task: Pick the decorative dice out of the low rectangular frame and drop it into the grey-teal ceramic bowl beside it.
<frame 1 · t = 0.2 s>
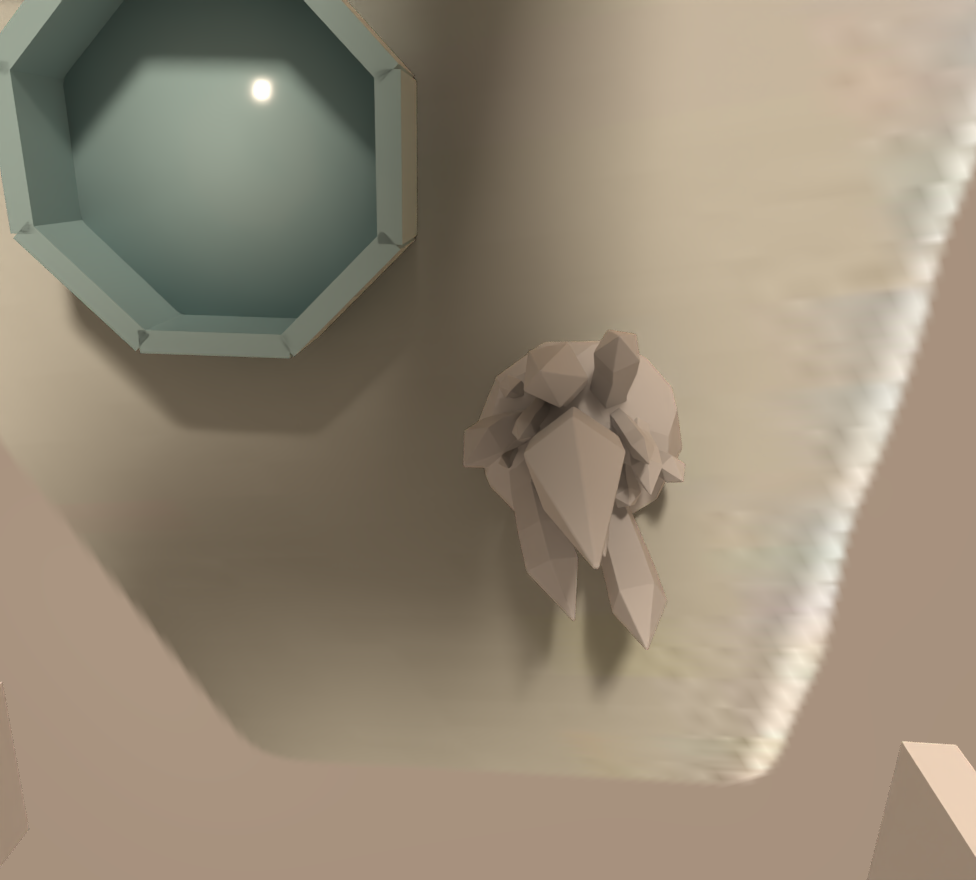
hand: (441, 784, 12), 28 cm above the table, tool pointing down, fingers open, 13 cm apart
bowl: (236, 155, 36), on the table
crystal: (581, 445, 40), on the table
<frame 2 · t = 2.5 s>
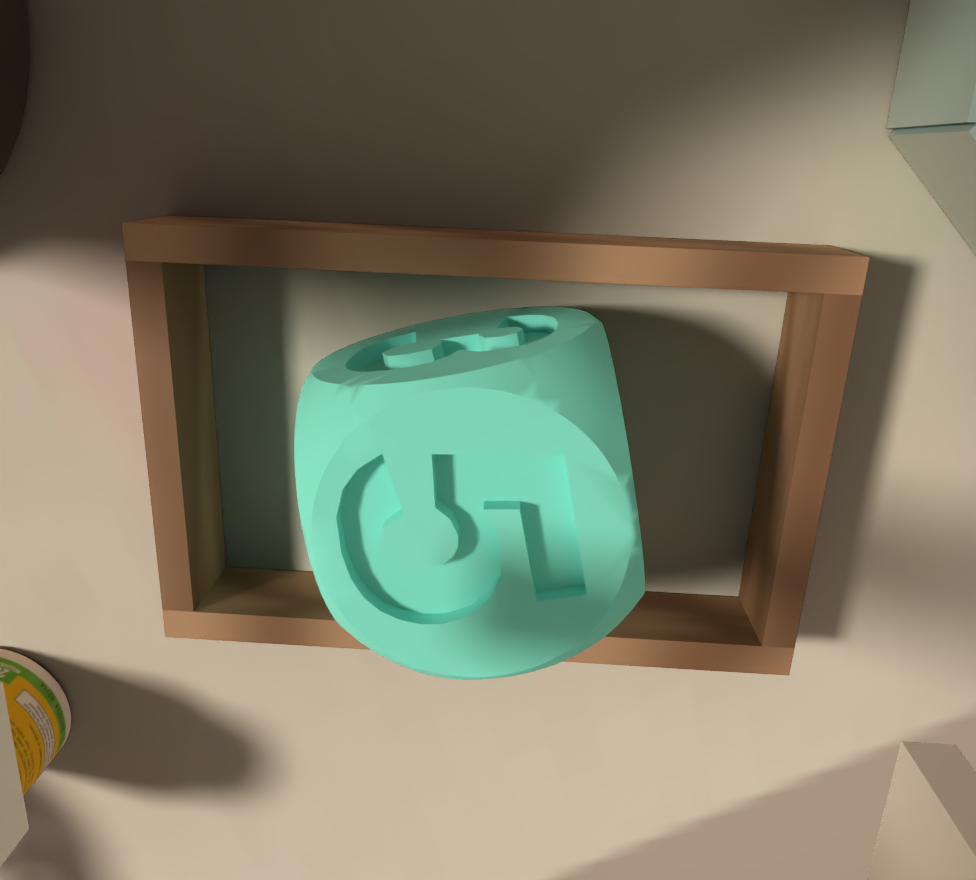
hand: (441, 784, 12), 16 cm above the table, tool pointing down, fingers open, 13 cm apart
decorative dice: (486, 431, 27), resting in rectangular frame
rectangular frame: (486, 433, 27), on the table
supplement bottle: (9, 700, 31), on the table
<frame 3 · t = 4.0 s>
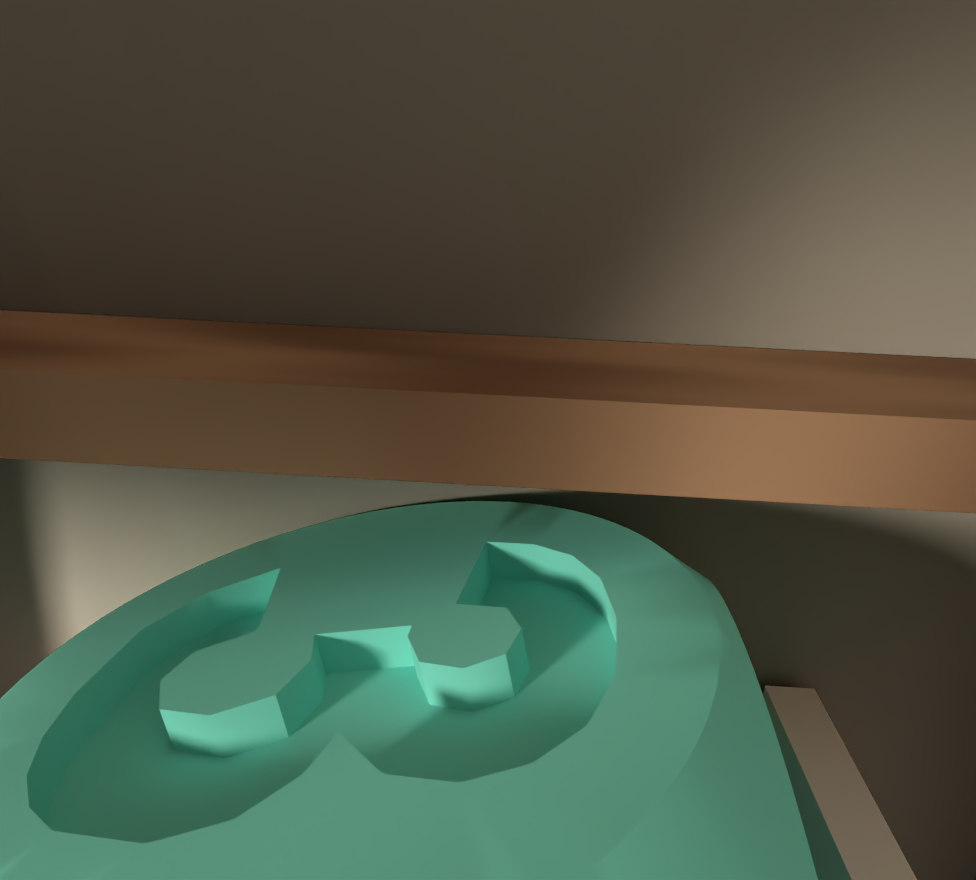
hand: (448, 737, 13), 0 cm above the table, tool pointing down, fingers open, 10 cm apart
decorative dice: (450, 715, 14), resting in rectangular frame
rectangular frame: (449, 726, 13), on the table
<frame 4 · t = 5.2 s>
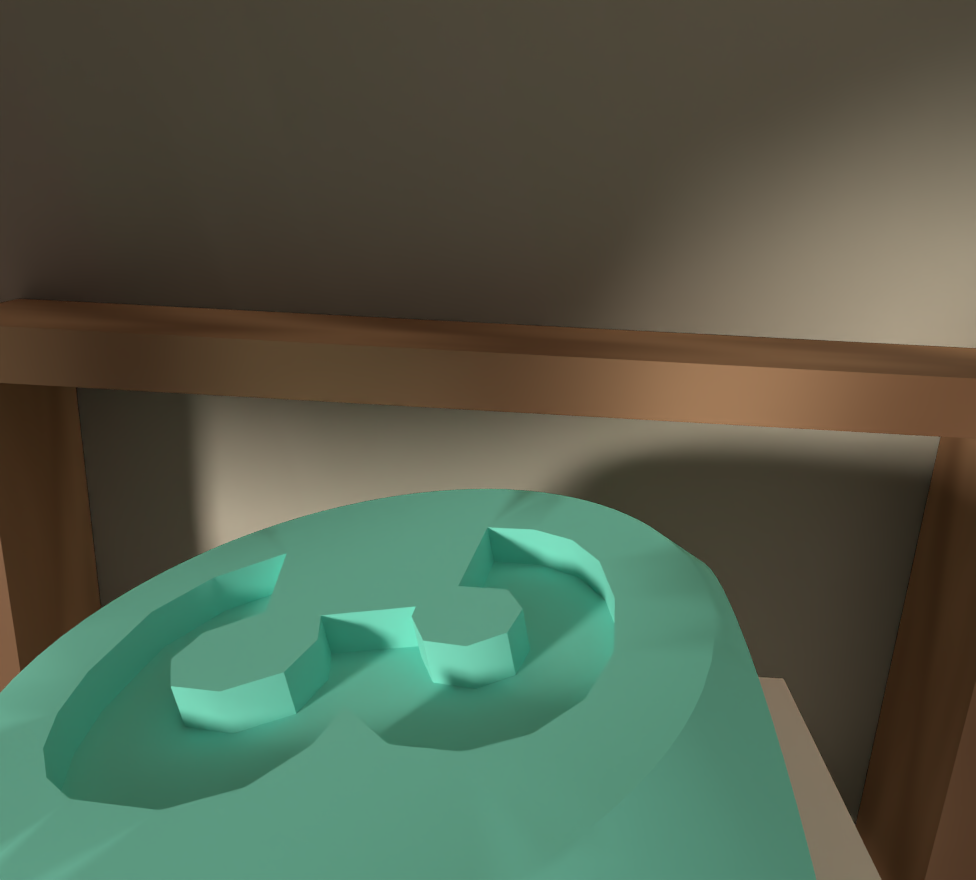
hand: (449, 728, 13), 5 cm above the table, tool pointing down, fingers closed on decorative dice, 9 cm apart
decorative dice: (452, 700, 14), point 4 cm above the table, touching gripper
rectangular frame: (488, 611, 18), on the table
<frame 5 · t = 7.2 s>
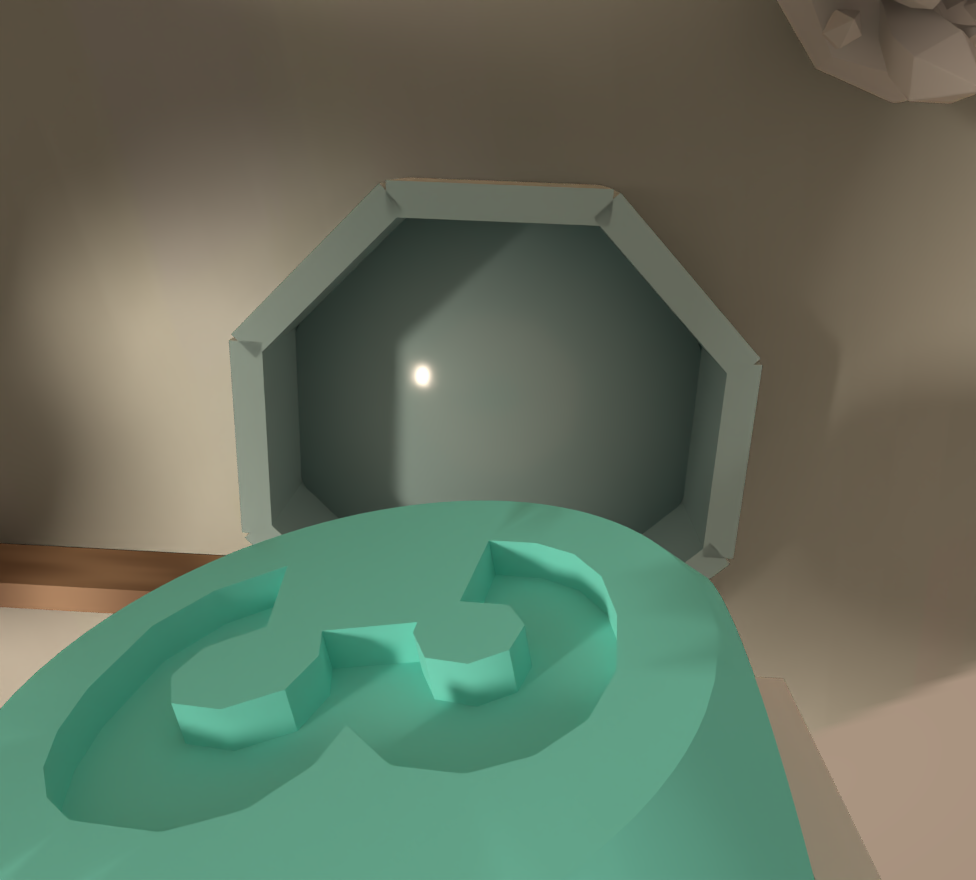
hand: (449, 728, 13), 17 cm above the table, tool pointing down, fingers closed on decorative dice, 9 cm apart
bowl: (494, 411, 30), on the table
decorative dice: (453, 711, 14), point 17 cm above the table, touching gripper
rectangular frame: (35, 682, 34), on the table
when the fingers open (5 cm above the table, at t = 9.4 s): decorative dice drops 4 cm, point 1 cm above the table.
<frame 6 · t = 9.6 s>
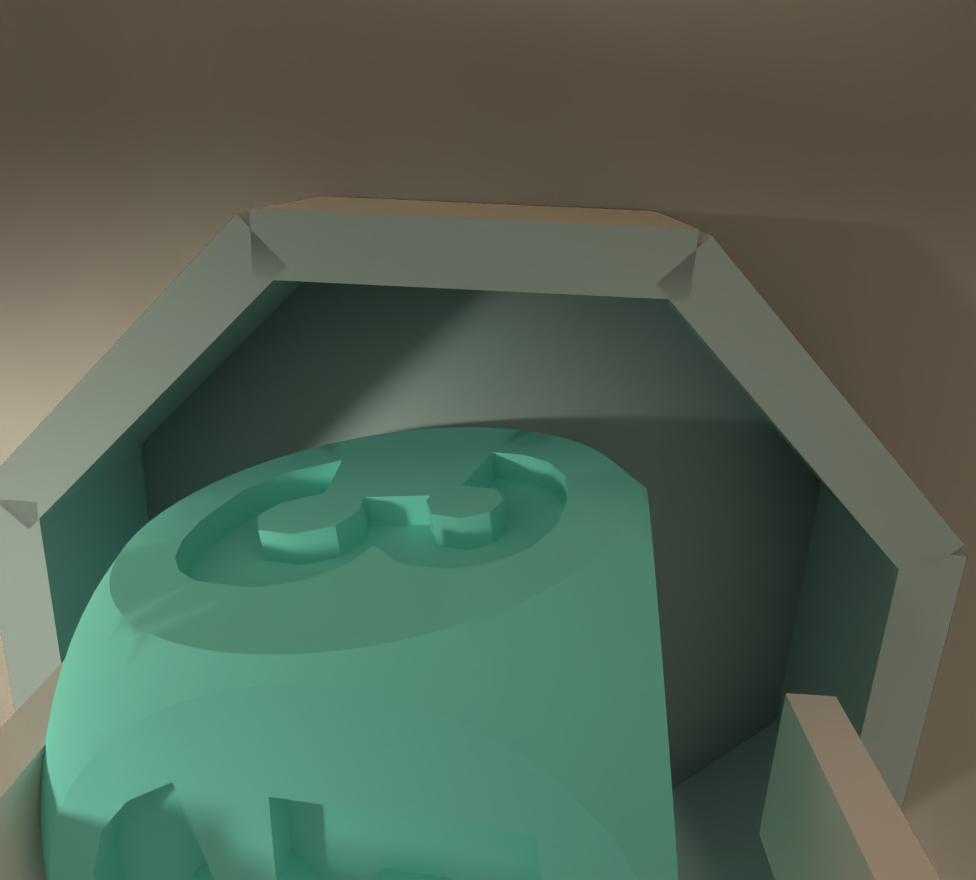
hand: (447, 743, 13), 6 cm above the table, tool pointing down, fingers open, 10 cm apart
bowl: (473, 571, 18), on the table
decorative dice: (460, 598, 17), point 1 cm above the table, touching gripper
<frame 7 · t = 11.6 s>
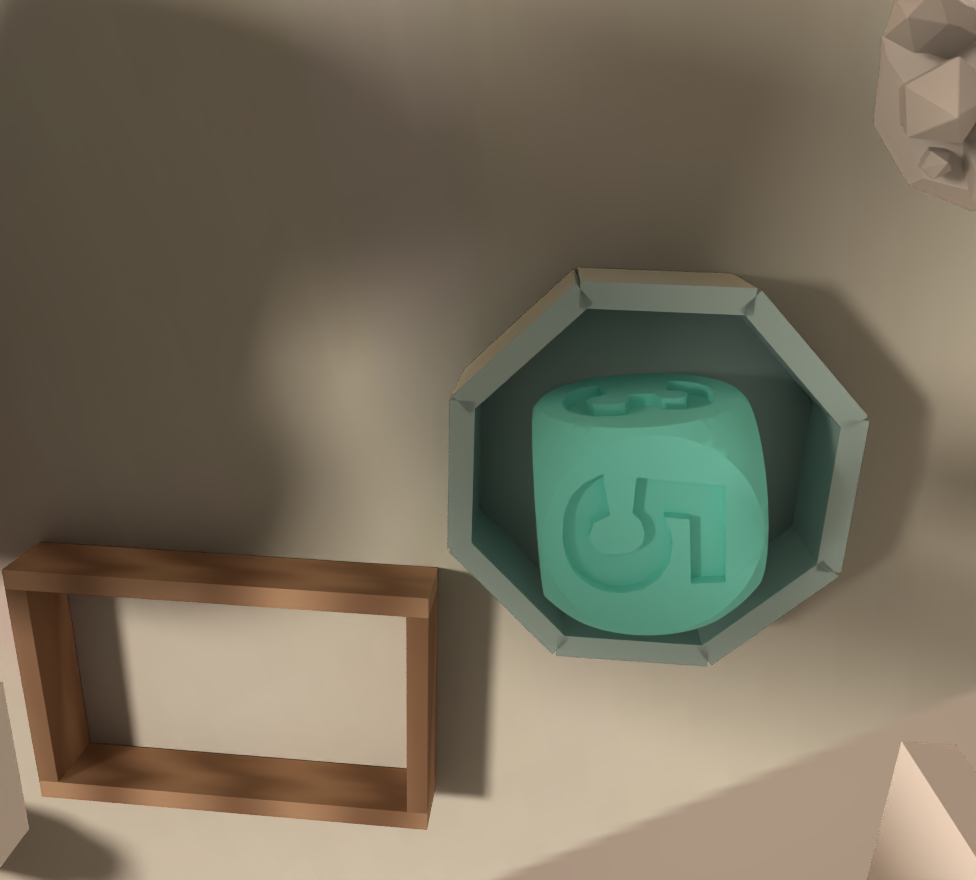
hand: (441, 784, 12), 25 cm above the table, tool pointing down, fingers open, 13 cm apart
bowl: (637, 450, 37), on the table
decorative dice: (631, 459, 36), point 1 cm above the table, touching bowl
rectangular frame: (244, 668, 42), on the table
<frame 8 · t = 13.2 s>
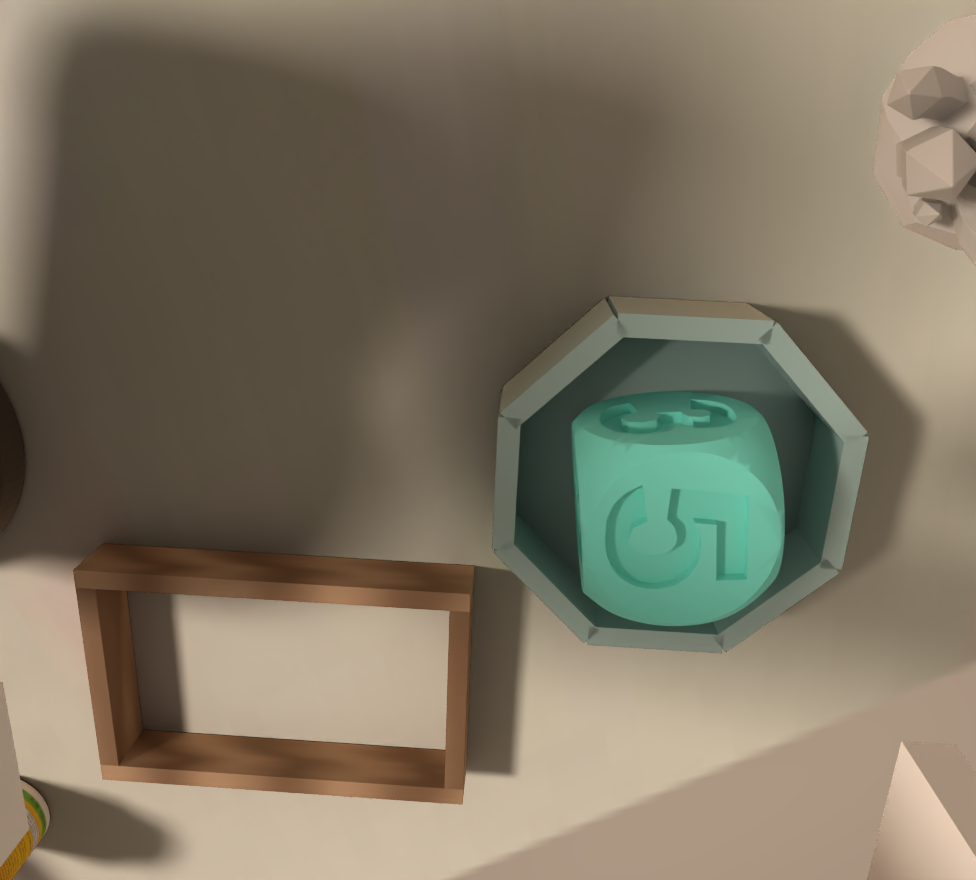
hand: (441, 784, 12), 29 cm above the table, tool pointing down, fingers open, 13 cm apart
bowl: (658, 460, 41), on the table
decorative dice: (653, 467, 40), point 1 cm above the table, touching bowl
rectangular frame: (291, 659, 45), on the table
supplement bottle: (11, 805, 50), on the table
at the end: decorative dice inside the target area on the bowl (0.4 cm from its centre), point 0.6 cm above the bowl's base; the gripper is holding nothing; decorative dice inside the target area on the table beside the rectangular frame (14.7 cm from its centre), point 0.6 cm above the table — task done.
